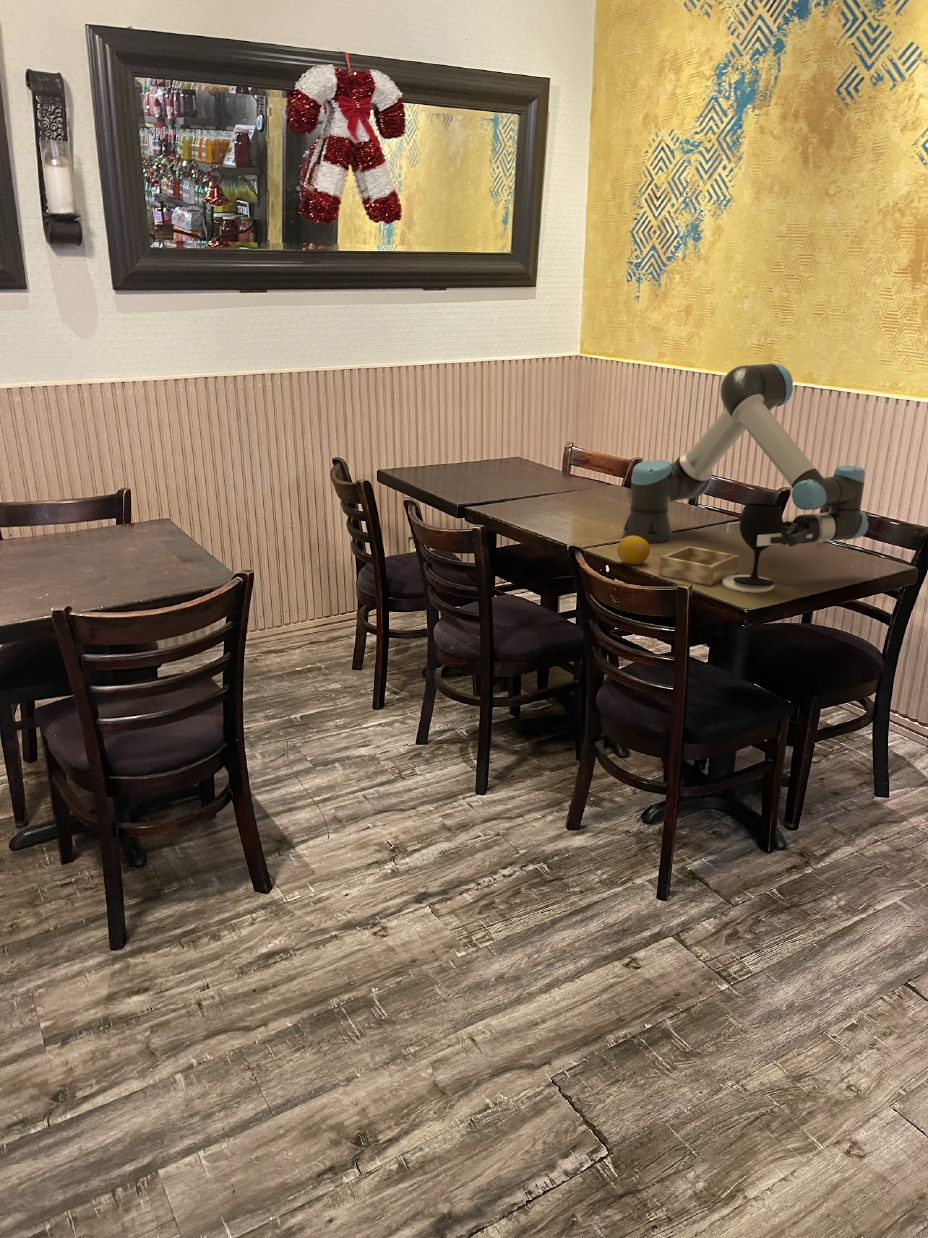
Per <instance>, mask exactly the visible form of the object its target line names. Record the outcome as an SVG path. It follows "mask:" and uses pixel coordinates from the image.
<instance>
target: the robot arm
mask: <svg viewBox="0 0 928 1238" xmlns="http://www.w3.org/2000/svg"><path fill="white" fill-rule="evenodd" d="M792 377H793V376H792V375H791V372H790V370H788V368H786V367H785V366H784V365H782V364H779V363H778V364H777V363H772V362H771V363H764V364H763V363H762V364H750V365H746V364H745V365H739V366H737V367H735V368H732V369H731V370H730V371H728V373H727V374H725V377H724V378H723V379H722V382H721V385H720V399H721V401H722V404H723V407H724V408H725V409H724V410H723V411H722V413H721V414H720V415H719V416H718V417H717V418H716V419H715V421H714V422H713V423H712V424H711V426H710V427H709V428H708V429H707V430H706V432H705V433H704V434H703V435H702V436H701V438H699V440H698V441H697V442H696V444H695V445H694V446H693V447H692V448H691V450H686V451H685V450H684V451H683V452H682V453H680V455H679V456H678V457H677V458H676V459H675V460H674V462H673V463H671V462H670V461H668V460H664V459H663V460H662V459H653V460H652V459H651V460H645V461H641V462H638V463H637V464H635V465H634V466H633V468H632V474H631V479H630V481H631V485H630V486H631V487H630V504H629V506H630V509H629V514H628V516H627V519H626V522H625V525H624V527H623V530H622V537H623V538H625V537H627V536H639V537H641V538H643V539H644V540H646V541H647V543H648V544H649V543H650V544H651V543H664V542H669V541H671V540H672V539H673V529H672V524H671V521H670V518H669V504H670V503H669V502H676V501H682V500H691V499H695V498H698V497H701V496H703V495H704V494H705V493H706V492H707V491H708V490H709V488H710V486H711V484H712V482H711V480H712V476H713V468H714V467H715V466H716V465H717V463H718V462H720V460H721V459H722V458H723V457H724V455H725V454H727V452H728V451H729V450H730V449H731V448H732V446H733V445H734V444H735V443H736V442H737V441H738V440H739V438H740V437H741V436H742V435H743V434H744V433H745V432H746V431H747V432H748V433H749V435H750V436H751V437H752V439H753V440H754V441H755V442H756V444H757V445H758V446H759V448H760V449H761V450H762V451H763V453H764V454H765V455H766V457H767V458H768V459H769V461H770V462H771V463H772V464H773V466H774V468H776V469H777V470H778V472H779V473H780V475H781V476H782V477H783V478H784V480H786V482H787V484H789V486H790V487H791V488H792V490H791V499H792V503H793V504H794V506H795V507H797V508H798V509H800V510H803V511H811V510H812V511H815V510H818V509H819V510H820V509H823V508H827V507H829V512H820V513H819V512H818V513H812V514H811V513H810V514H808V513H807V514H799V515H797V516H796V517H795V518H794V519H793V520H792V521H791V520H790V521H789V520H786V521H784V519H782V529H781V532H780V533H776V534H765V535H758V538H757V546H767V545H770V546H776V545H777V546H778V545H784V546H785V545H787V546H789V547H794V546H798V545H800V544H802V545H803V544H812V543H817V544H822V542H831V541H848V540H853V539H854V540H856V539H858V538H861V537H863V536H864V535H865V534H866V533H867V531H868V528H869V522H868V516H867V514H866V513H865V512H864V511H862V510H861V508H862V506H861V505H862V501H863V495H864V494H863V492H864V489H865V488H864V486H865V476H866V472H865V469H864V468H862V467H860V466H856V465H839V466H837V467H836V468H835V469H834V473H833V475H831V476H828V477H827V476H826V477H824V476H823V475H822V474H821V473H820V471H818V469H817V468H816V467H815V465H814V464H813V463H812V462H811V461H810V459H809V458H808V457H807V455H805V453H804V452H803V450H802V449H801V448H800V447H799V446H798V444H797V443H796V441H794V439H793V438H792V436H790V435H789V433H788V432H787V431H786V430H785V428H784V427H783V426H782V424H781V423H780V422H779V421H778V420H777V418H776V417H775V416H774V414H773V413H772V412H771V410H772V409H774V407H781V406H783V405H785V404H786V403H788V402H789V400H790V399H791V397H792V395H793V392H794V391H793V390H794V385H793V383H794V381H793V378H792ZM726 534H729V535H730V534H741V532H740V521H738V522H737V521H736V522H727V525H726Z"/></svg>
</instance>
